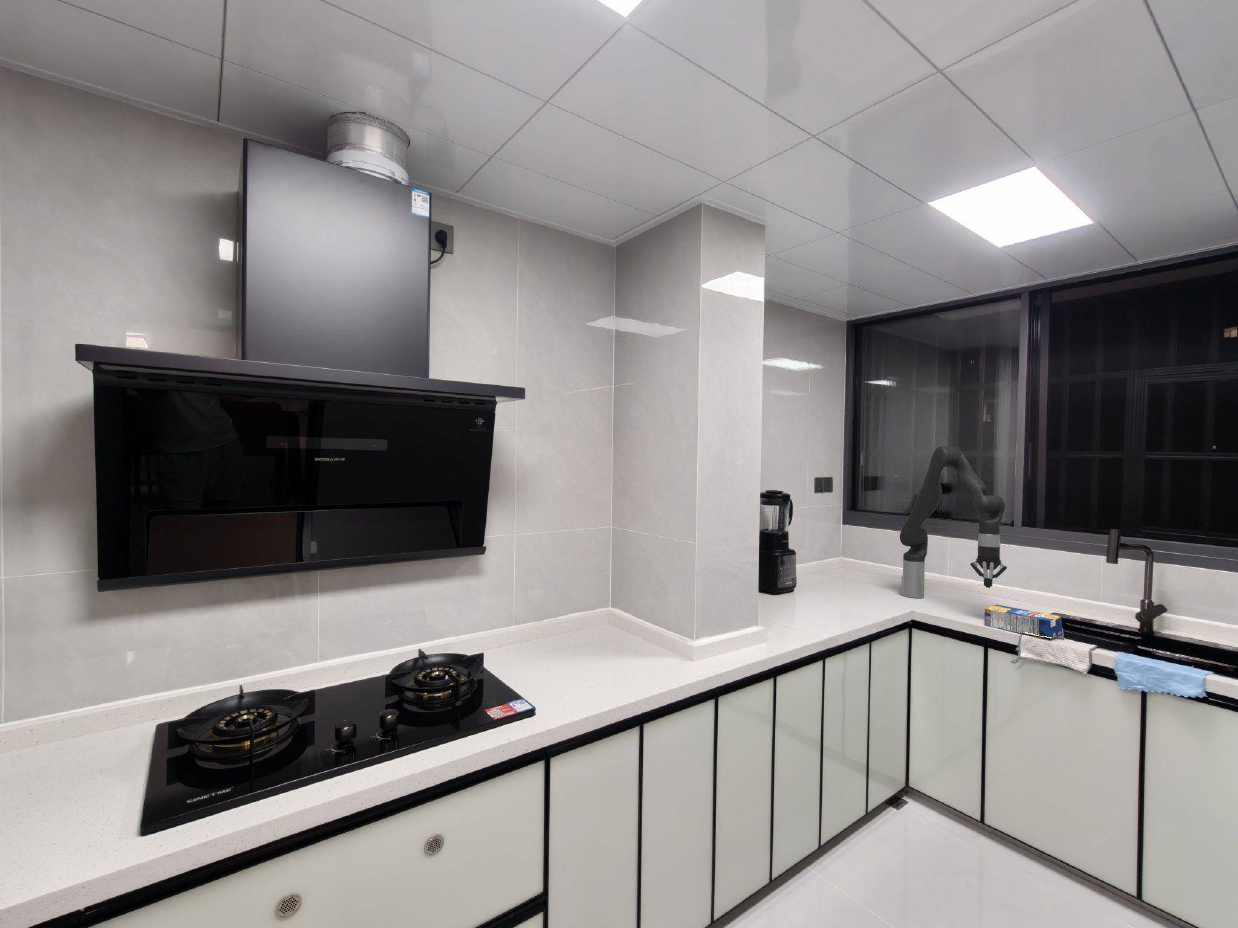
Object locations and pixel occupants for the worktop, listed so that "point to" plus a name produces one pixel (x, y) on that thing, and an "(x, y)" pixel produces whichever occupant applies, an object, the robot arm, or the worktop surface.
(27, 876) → the worktop surface
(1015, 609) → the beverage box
